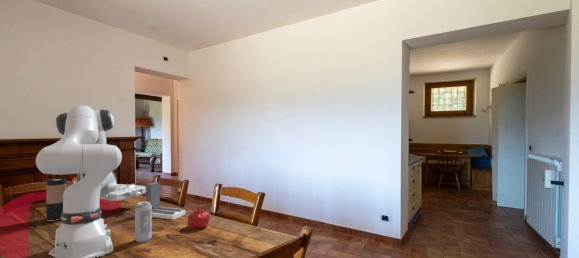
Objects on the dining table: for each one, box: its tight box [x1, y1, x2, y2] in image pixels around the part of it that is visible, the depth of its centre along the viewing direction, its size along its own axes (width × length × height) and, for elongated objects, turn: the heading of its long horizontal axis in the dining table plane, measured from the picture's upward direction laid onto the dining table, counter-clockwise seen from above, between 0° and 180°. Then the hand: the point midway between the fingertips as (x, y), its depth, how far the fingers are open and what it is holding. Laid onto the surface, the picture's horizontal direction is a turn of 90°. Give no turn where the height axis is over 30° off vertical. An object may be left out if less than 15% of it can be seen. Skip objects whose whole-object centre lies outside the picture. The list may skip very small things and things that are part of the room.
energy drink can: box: [134, 201, 153, 244], centre depth 109 cm, size 6×6×15 cm
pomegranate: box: [186, 206, 211, 230], centre depth 125 cm, size 10×10×9 cm
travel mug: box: [45, 177, 67, 221], centre depth 135 cm, size 8×8×20 cm
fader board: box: [152, 205, 186, 220], centre depth 142 cm, size 21×9×3 cm, turn 72°
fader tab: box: [145, 181, 161, 210], centre depth 144 cm, size 5×6×14 cm
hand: (138, 194), depth 147 cm, fingers closed
